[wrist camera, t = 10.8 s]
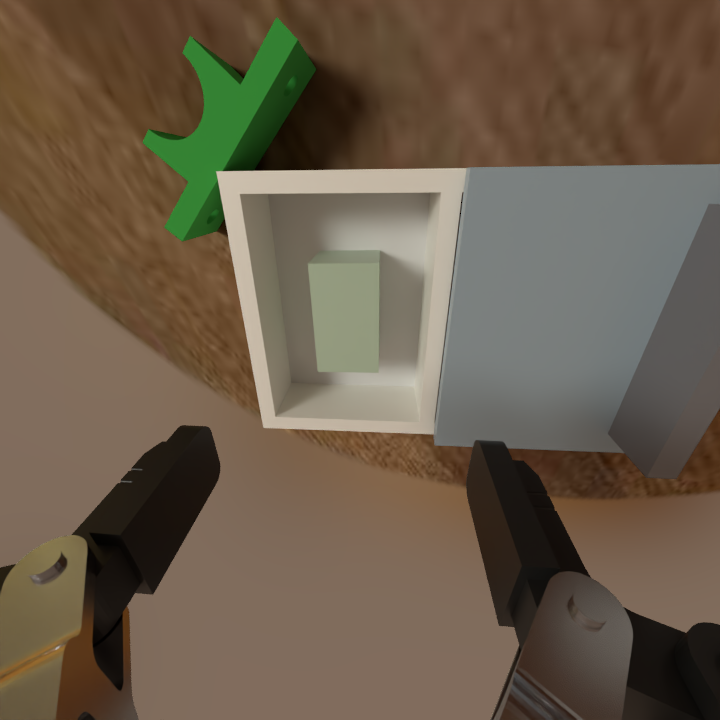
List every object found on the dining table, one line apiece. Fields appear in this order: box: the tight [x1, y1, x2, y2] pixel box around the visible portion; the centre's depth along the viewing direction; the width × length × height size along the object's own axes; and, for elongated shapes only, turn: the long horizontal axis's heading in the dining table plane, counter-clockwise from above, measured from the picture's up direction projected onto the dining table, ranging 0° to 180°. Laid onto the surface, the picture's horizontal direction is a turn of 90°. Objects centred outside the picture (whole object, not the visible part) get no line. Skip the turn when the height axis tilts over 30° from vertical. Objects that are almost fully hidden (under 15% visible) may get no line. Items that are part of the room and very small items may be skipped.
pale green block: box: [308, 250, 380, 373], centre depth 22 cm, size 4×7×4 cm, turn 1°
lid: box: [433, 164, 720, 479], centre depth 17 cm, size 12×16×4 cm
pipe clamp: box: [143, 17, 316, 241], centre depth 18 cm, size 11×4×5 cm, turn 139°
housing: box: [216, 168, 467, 434], centre depth 22 cm, size 24×16×5 cm, turn 91°
